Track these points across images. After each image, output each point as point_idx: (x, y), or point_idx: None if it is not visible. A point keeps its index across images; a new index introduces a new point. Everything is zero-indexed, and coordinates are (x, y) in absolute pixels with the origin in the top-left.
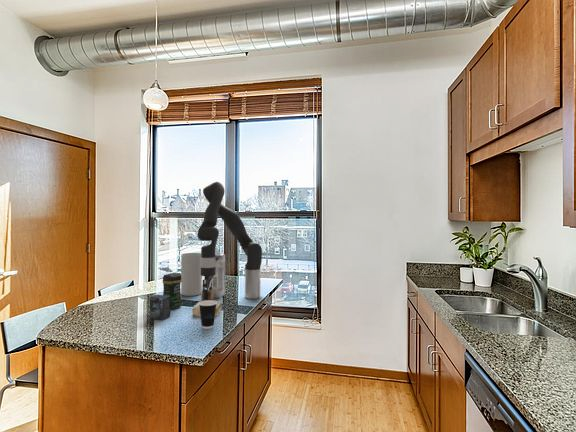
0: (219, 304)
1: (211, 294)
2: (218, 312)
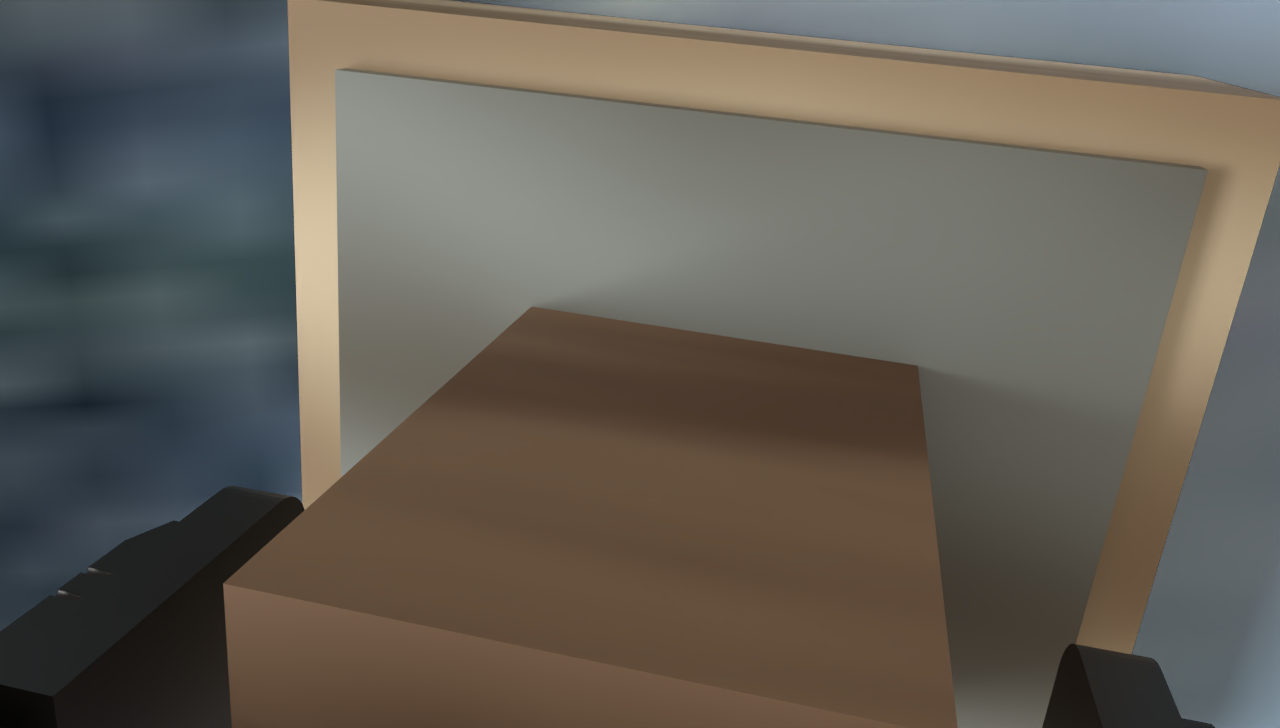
0: (701, 44)
1: (922, 609)
2: (917, 50)
